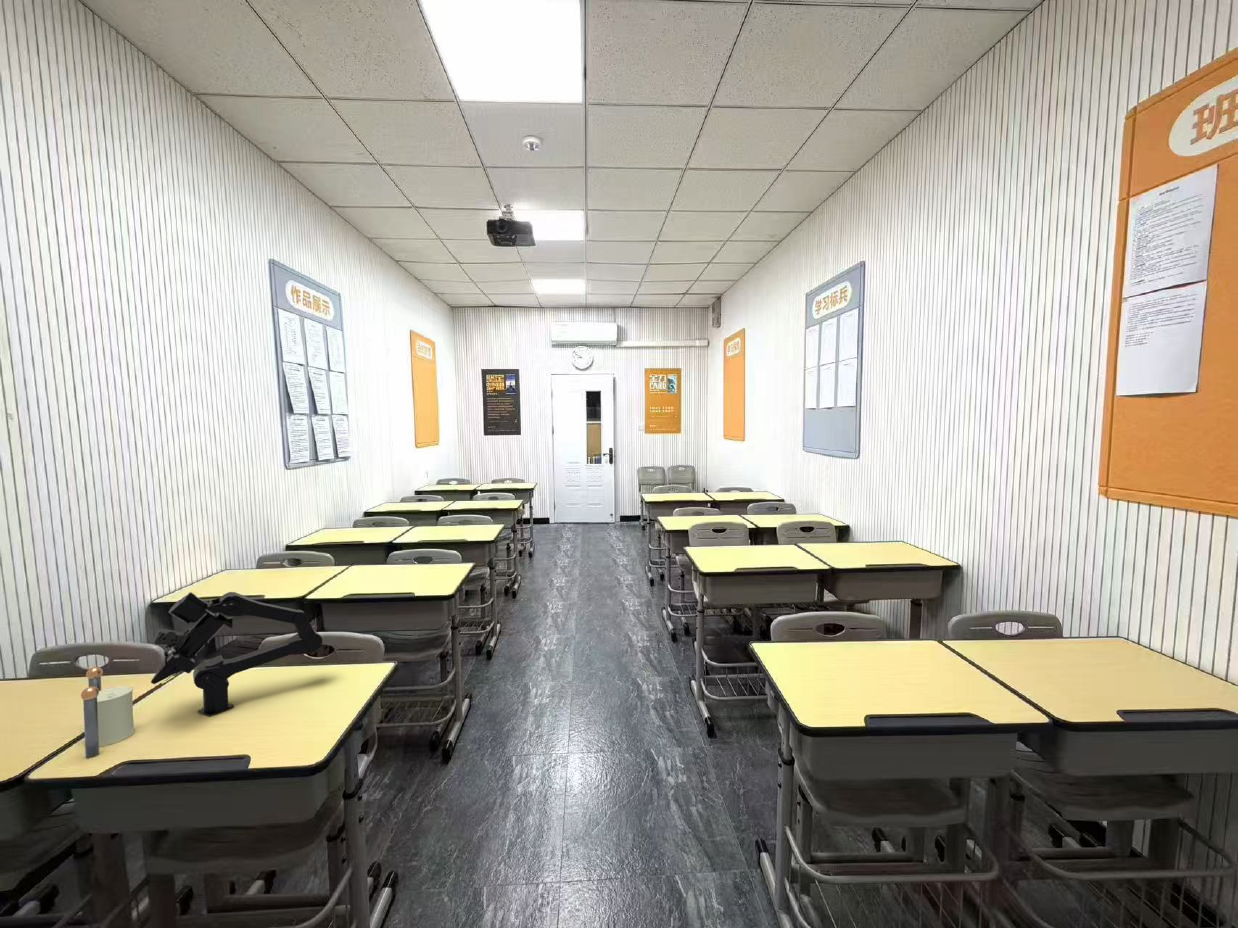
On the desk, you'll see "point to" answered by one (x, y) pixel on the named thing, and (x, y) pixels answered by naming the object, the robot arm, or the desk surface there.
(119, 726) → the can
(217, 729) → the desk surface
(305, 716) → the desk surface
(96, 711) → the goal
